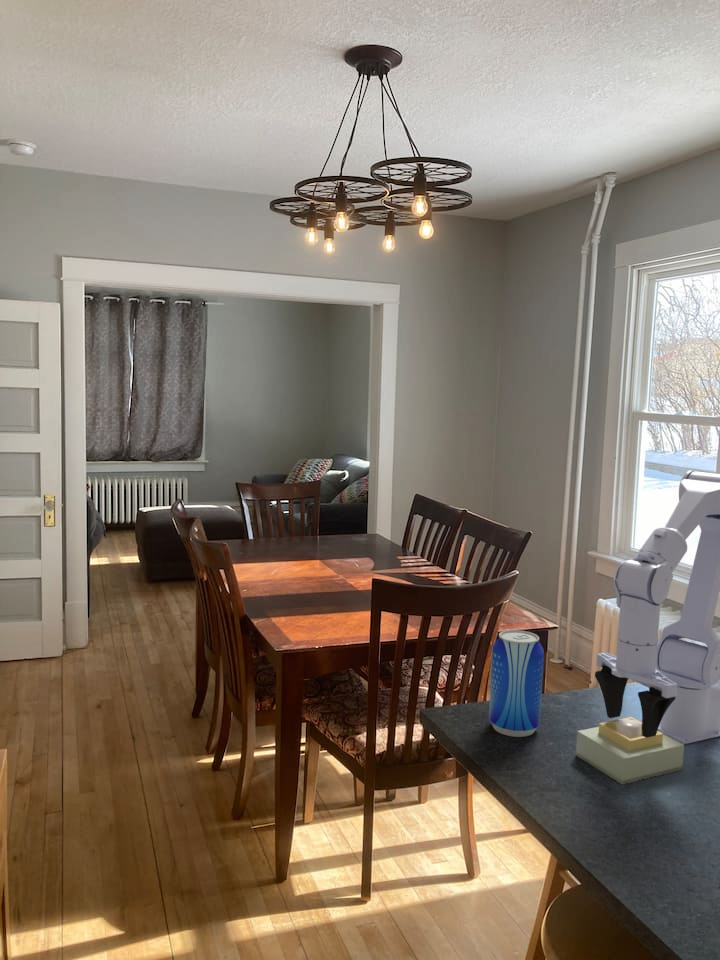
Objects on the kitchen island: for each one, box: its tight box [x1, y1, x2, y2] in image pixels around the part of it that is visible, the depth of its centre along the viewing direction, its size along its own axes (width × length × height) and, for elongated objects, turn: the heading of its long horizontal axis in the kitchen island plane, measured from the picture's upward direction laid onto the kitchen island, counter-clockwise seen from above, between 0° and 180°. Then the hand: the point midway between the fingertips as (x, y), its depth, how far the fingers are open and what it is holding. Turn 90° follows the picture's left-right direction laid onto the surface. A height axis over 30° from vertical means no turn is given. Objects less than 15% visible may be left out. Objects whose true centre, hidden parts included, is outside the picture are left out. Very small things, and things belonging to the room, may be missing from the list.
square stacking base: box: [575, 716, 685, 786], centre depth 123 cm, size 12×10×6 cm
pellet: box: [616, 718, 641, 739], centre depth 123 cm, size 4×4×6 cm
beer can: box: [488, 629, 545, 738], centre depth 134 cm, size 8×8×16 cm
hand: (630, 725), depth 123 cm, fingers open, 7 cm apart
